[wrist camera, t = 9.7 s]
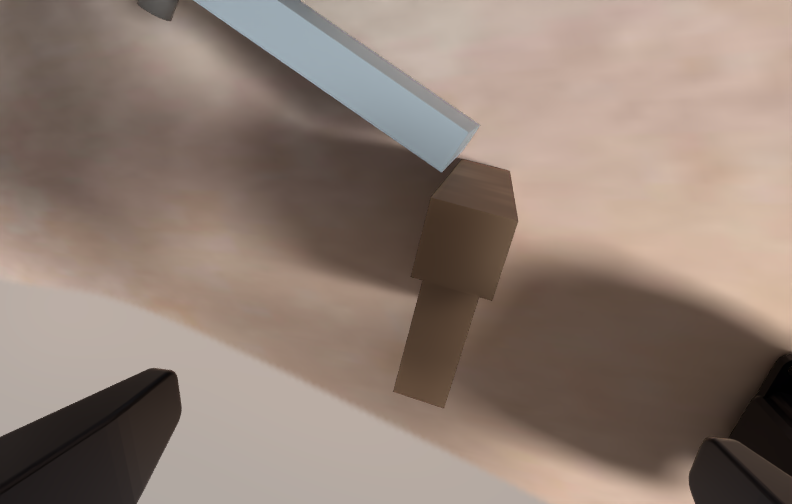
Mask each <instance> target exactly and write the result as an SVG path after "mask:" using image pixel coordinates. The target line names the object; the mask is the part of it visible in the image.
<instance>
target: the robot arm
mask: <svg viewBox="0 0 792 504" xmlns="http://www.w3.org/2000/svg"><path fill="white" fill-rule="evenodd" d="M791 366H792V354H789V355H784V356H782V357H780V358H779V359H778V360H777V361H776V363H775V364H774V366H773V368H772V369H771V371H770V373H769V374H768V376H767V378H766V379H765V381H764V383H763V384H762V386H761V388H760V389H759V391H758V393H757V394H756V396H755V398H753V399H752V400H751V402H750V404H749V405H748V407H747V409H746V410H745V412H744V414H743V415H742V417H741V419H740V420H739V422H738V424H737V425H736V427H735V429H734V430H733V432H732V434H731V435H730V437H729V439H726V438H718V437H708V438H706V439H705V440H704V441H703V442H702V444H701V446H700V449H699V451H698V453H697V456H696V458H695V460H694V463H693V465H692V467H691V470H690V473H689V486H690V490H691V493H692V496H693V499H694V502H695V504H792V371H788V369H789V368H790V367H791ZM180 415H181V399H180V392H179V385H178V378H177V375H176V373H175V372H174V371H172V370H166V369H158V368H151V369H147V370H146V371H143V372H141V373H139V374H137V375H134V376H132V377H130V378H128V379H126V380H123V381H121V382H119V383H117V384H115V385H112V386H110V387H108V388H106V389H104V390H102V391H99V392H97V393H95V394H93V395H91V396H88V397H86V398H84V399H82V400H80V401H78V402H75V403H73V404H71V405H69V406H67V407H65V408H62V409H60V410H58V411H56V412H54V413H51V414H49V415H47V416H45V417H43V418H40V419H38V420H36V421H34V422H32V423H30V424H27V425H25V426H23V427H21V428H19V429H16V430H14V431H12V432H10V433H8V434H6V435H3V436H1V437H0V504H137V502H138V500H139V498H140V497H141V495H142V493H143V491H144V489H145V487H146V485H147V483H148V481H149V479H150V477H151V475H152V473H153V471H154V469H155V467H156V465H157V463H158V461H159V459H160V457H161V455H162V453H163V451H164V449H165V448H166V446H167V444H168V441H169V440H170V437H171V436H172V434H173V432H174V430H175V428H176V426H177V424H178V422H179V419H180Z"/></svg>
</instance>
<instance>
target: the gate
mask: <svg viewBox="0 0 792 504" xmlns="http://www.w3.org/2000/svg"><path fill="white" fill-rule="evenodd" d="M193 1H195V2H196V3H198V4H199V5H201V6H202V7H203V8H205V9H206V10H208V11H209V12H211V13H212V14H214V15H215V16H216V17H218V18H219V19H221V20H222V21H224V22H225V23H227V24H228V25H229V26H231V27H232V28H234V29H235V30H237V31H238V32H240V33H241V34H242V35H244V36H245V37H247V38H248V39H250V40H251V41H253V42H254V43H255V44H257V45H258V46H260V47H261V48H263V49H264V50H265V51H267V52H268V53H270V54H271V55H273V56H274V57H276V58H277V59H278V60H280V61H281V62H283V63H284V64H286V65H287V66H289V67H290V68H291V69H293V70H294V71H296V72H297V73H299V74H300V75H302V76H303V77H304V78H306V79H307V80H309V81H310V82H312V83H313V84H315V85H316V86H317V87H319V88H320V89H322V90H323V91H325V92H326V93H327V94H329V95H330V96H332V97H333V98H335V99H336V100H338V101H339V102H340V103H342V104H343V105H345V106H346V107H348V108H349V109H351V110H352V111H353V112H355V113H356V114H358V115H359V116H361V117H362V118H364V119H365V120H366V121H368V122H369V123H371V124H372V125H374V126H375V127H377V128H378V129H379V130H381V131H382V132H384V133H385V134H387V135H388V136H390V137H391V138H392V139H394V140H395V141H397V142H398V143H400V144H401V145H402V146H404V147H405V148H407V149H408V150H410V151H411V152H413V153H414V154H415V155H417V156H418V157H420V158H421V159H423V160H424V161H426V162H427V163H428V164H430V165H431V166H433V167H434V168H436V169H437V170H439V171H440V172H441V173H442V172H443V171H444V170H445V169H446V168H447V167H448V166H449V164H450V163H451V162H452V161H453V160H454V159H455V158H456V157H457V156H458V155H459V154H460V153H461V152H462V151H463V150H464V148H465V147H466V145H467V144H468V142H469V141H470V140H471V138H472V137H473V135H474V134H475V132H476V131H477V129H478V128H479V126H480V125H479V124H478V123H476V122H475V121H474V120H472V119H471V118H469V117H468V116H466V115H465V114H463V113H462V112H460V111H459V110H458V109H456V108H455V107H453V106H452V105H450V104H449V103H447V102H446V101H445V100H443V99H442V98H440V97H439V96H437V95H436V94H434V93H433V92H432V91H430V90H429V89H427V88H426V87H424V86H423V85H421V84H420V83H419V82H417V81H416V80H414V79H413V78H411V77H410V76H408V75H407V74H405V73H404V72H403V71H401V70H400V69H398V68H397V67H395V66H394V65H392V64H391V63H390V62H388V61H387V60H385V59H384V58H382V57H381V56H379V55H378V54H377V53H375V52H374V51H372V50H371V49H369V48H368V47H366V46H365V45H364V44H362V43H361V42H359V41H358V40H356V39H355V38H353V37H352V36H350V35H349V34H348V33H346V32H345V31H343V30H342V29H340V28H339V27H337V26H336V25H335V24H333V23H332V22H330V21H329V20H327V19H326V18H324V17H323V16H322V15H320V14H319V13H317V12H316V11H314V10H313V9H311V8H310V7H309V6H307V5H306V4H304V3H303V2H301V1H300V0H193ZM177 3H178V0H138V2H137V4H138V5H139V6H140V7H141V8H143V9H144V10H146V11H148V12H149V13H151V14H153V15H155V16H157V17H159V18H161V19H164V20H166V21H171V20H172V17H173V14H174V11H175V9H176V6H177Z"/></svg>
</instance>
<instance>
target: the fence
mask: <svg viewBox="0 0 792 504" xmlns="http://www.w3.org/2000/svg"><path fill="white" fill-rule="evenodd" d="M517 223H518V216H517V211H516V205H515V199H514V193H513V187H512V181H511V175H510V171H508V170H504V169H500V168H496V167H492V166H488V165H484V164H480V163H476V162H472V161H468V160H464V159H462V160H461V161H460V162H459V163H458V165H457V166H456V167H455V168H454V170H453V171H452V172H451V173H450V174H449V176H448V177H447V178H446V179H445V181H444V182H443V183H442V184H441V186H440V187H439V188H438V189H437V190H436V192H435V193H434V194H433V195H432V197H431V199H430V202H429V206H428V210H427V214H426V218H425V222H424V226H423V230H422V234H421V238H420V242H419V246H418V250H417V254H416V258H415V262H414V266H413V269H412V273H411V277H413V278H416V279H420V280H423V281H422V284H421V288H420V292H419V296H418V300H417V303H416V307H415V311H414V315H413V318H412V322H411V326H410V330H409V334H408V337H407V341H406V345H405V349H404V352H403V356H402V360H401V364H400V368H399V371H398V375H397V379H396V383H395V386H394V390H393V392H396V393H399V394H402V395H405V396H408V397H411V398H414V399H417V400H420V401H423V402H426V403H429V404H432V405H435V406H438V407H441V408H444V407H445V403H446V400H447V397H448V394H449V391H450V388H451V384H452V381H453V378H454V375H455V372H456V369H457V365H458V362H459V359H460V356H461V353H462V350H463V346H464V343H465V340H466V337H467V334H468V331H469V328H470V324H471V321H472V318H473V315H474V312H475V309H476V305H477V302H478V299H479V297H481V298H484V299H487V300H491V301H492V299H493V296H494V293H495V290H496V287H497V284H498V281H499V278H500V275H501V272H502V269H503V266H504V263H505V260H506V257H507V254H508V251H509V248H510V244H511V241H512V238H513V235H514V232H515V229H516V226H517Z"/></svg>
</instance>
